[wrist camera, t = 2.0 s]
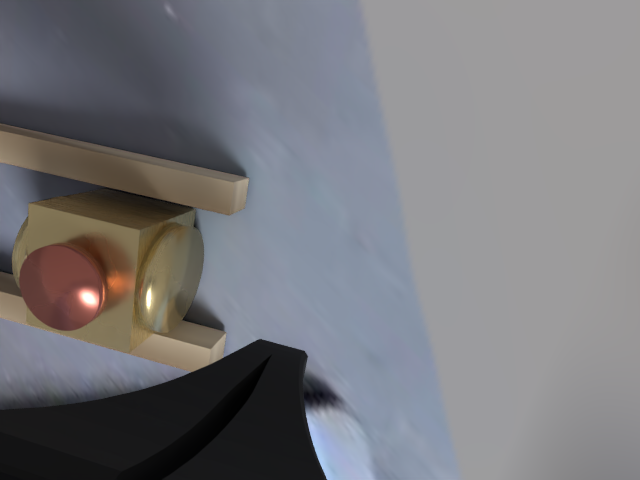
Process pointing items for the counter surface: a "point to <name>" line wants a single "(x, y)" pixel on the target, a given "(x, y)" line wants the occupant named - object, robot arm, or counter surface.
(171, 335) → the guide rails
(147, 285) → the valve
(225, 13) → the counter surface
